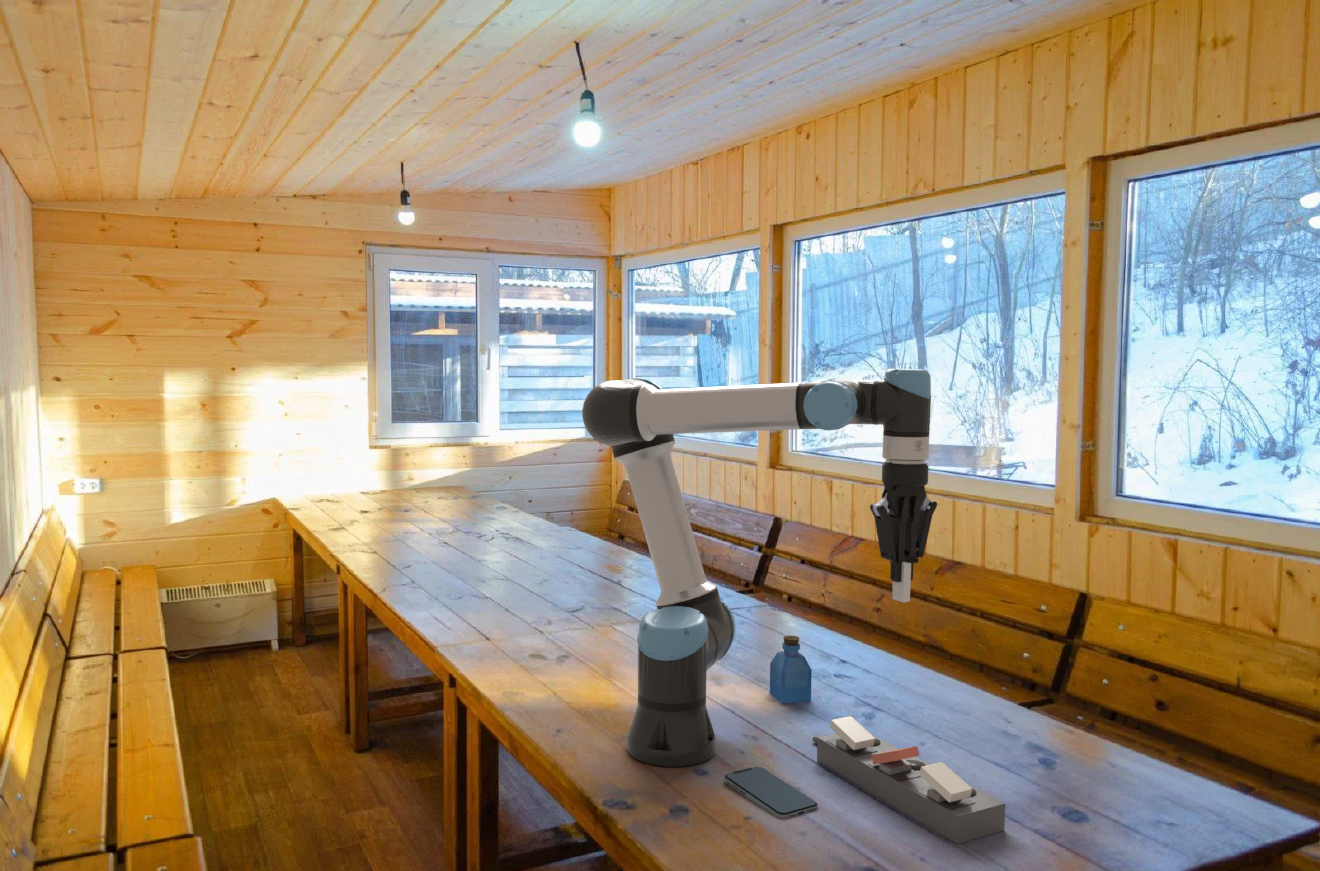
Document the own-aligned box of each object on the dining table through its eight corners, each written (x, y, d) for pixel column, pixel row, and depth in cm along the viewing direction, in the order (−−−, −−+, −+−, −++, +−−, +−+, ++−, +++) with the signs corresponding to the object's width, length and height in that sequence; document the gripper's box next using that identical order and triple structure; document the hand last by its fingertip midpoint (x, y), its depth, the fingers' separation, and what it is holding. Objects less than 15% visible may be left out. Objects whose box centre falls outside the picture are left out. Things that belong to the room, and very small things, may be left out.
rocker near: (970, 796, 143) (972, 788, 142) (949, 802, 141) (951, 794, 140) (939, 769, 148) (941, 761, 148) (919, 774, 146) (921, 766, 146)
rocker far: (873, 745, 161) (875, 738, 161) (853, 750, 159) (855, 742, 159) (849, 723, 166) (850, 715, 166) (829, 727, 165) (831, 719, 164)
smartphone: (781, 814, 145) (721, 773, 158) (780, 825, 146) (721, 784, 158) (821, 803, 149) (760, 764, 162) (820, 813, 149) (759, 774, 162)
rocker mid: (919, 755, 152) (917, 745, 152) (899, 760, 150) (896, 750, 150) (893, 759, 157) (891, 750, 157) (873, 764, 155) (871, 755, 155)
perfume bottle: (781, 703, 194) (782, 643, 193) (769, 693, 200) (770, 634, 199) (810, 701, 196) (812, 640, 195) (798, 690, 202) (799, 632, 201)
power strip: (1004, 830, 143) (1005, 796, 142) (957, 844, 139) (958, 809, 138) (833, 737, 177) (834, 709, 177) (792, 746, 173) (792, 718, 172)
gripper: (890, 465, 161) (885, 609, 162) (950, 461, 167) (945, 601, 169) (860, 460, 167) (856, 599, 169) (919, 457, 173) (915, 591, 175)
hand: (901, 600), depth 169 cm, fingers closed
